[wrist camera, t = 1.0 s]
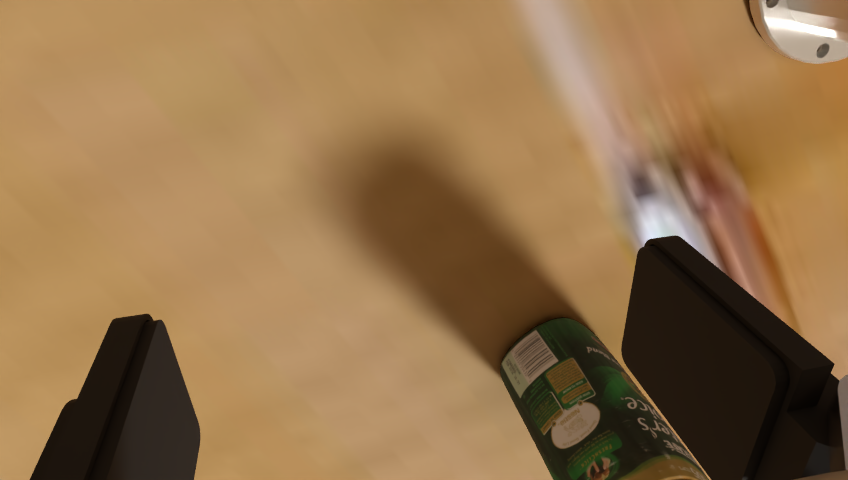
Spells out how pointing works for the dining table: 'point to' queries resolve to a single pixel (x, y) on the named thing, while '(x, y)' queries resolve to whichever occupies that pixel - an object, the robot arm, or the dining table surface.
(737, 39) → the dining table surface
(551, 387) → the coffee jar
